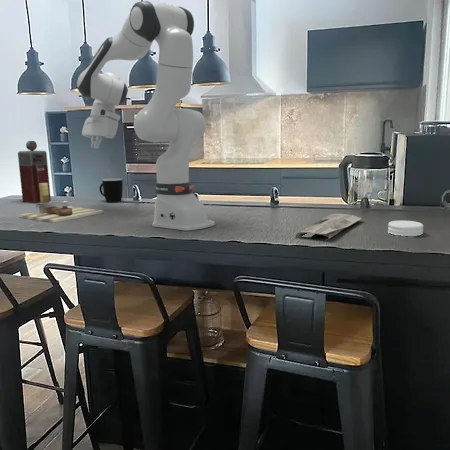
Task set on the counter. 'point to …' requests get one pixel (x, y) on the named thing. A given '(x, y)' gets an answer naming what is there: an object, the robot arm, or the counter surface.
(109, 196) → the mug
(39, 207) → the keeper
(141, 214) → the counter surface
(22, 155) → the toy vending machine
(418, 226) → the white round disc
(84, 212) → the pivot board
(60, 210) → the tan l-shaped piece
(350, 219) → the newspaper
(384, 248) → the counter surface
